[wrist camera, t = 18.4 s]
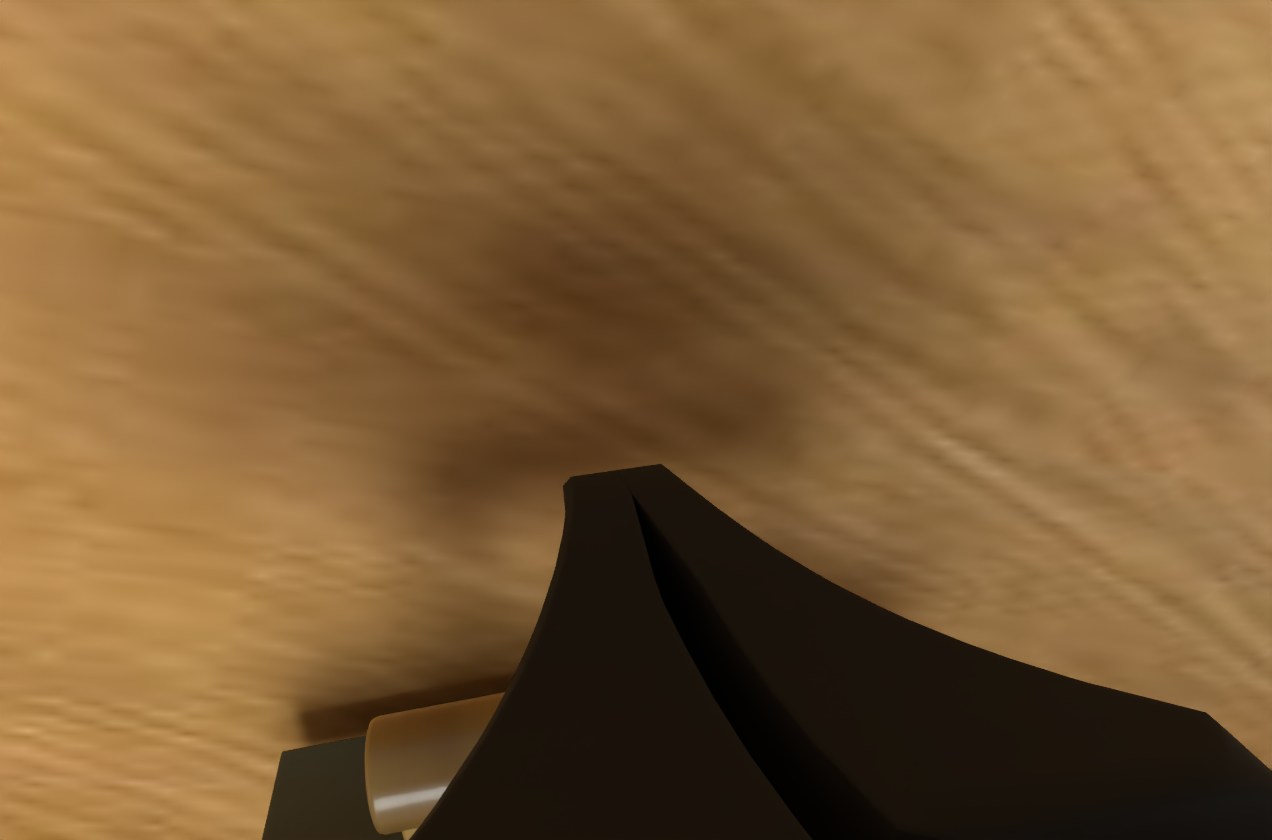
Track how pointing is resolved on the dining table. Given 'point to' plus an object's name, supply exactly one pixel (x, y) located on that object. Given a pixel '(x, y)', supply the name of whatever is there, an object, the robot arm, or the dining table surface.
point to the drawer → (376, 775)
